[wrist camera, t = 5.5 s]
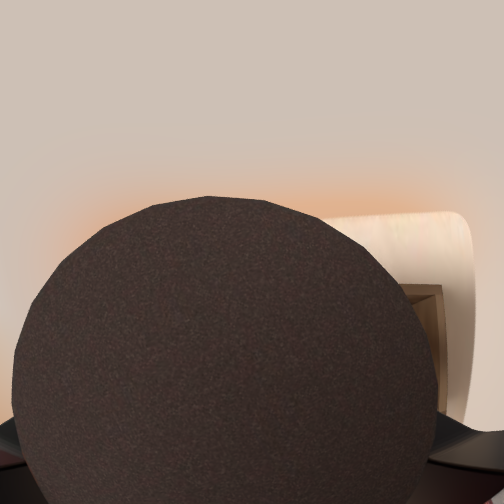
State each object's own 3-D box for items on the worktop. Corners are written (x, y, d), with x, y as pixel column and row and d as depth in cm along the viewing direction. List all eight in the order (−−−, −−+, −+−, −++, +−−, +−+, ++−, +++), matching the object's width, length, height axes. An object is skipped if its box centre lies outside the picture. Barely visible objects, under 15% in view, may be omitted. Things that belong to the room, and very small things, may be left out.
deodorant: (163, 400, 16) (-23, 450, 2) (206, 318, 18) (142, 145, 4) (251, 442, 15) (315, 615, 1) (292, 359, 17) (474, 301, 4)
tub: (420, 416, 19) (445, 420, 15) (299, 433, 18) (312, 445, 15) (417, 296, 23) (441, 284, 19) (302, 294, 22) (315, 281, 19)
